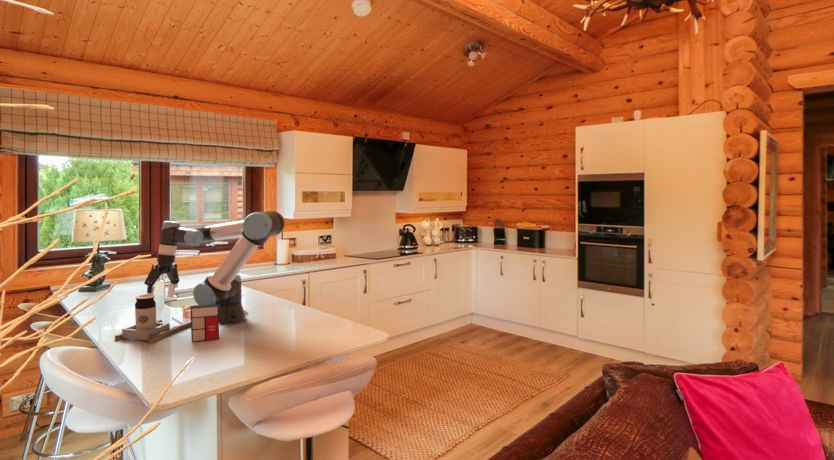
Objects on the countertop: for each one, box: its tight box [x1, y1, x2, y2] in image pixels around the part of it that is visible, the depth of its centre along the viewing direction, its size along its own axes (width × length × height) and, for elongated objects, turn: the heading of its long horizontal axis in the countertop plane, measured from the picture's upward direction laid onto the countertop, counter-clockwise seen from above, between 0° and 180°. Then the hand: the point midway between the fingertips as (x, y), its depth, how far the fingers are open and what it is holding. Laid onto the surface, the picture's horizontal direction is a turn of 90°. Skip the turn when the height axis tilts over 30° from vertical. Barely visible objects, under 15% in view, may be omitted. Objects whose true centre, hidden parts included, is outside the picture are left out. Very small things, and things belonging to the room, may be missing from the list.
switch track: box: [114, 319, 191, 344], centre depth 223 cm, size 18×26×2 cm
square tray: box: [121, 322, 171, 341], centre depth 218 cm, size 13×13×4 cm
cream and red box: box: [190, 304, 220, 343], centre depth 214 cm, size 11×4×15 cm, turn 114°
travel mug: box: [134, 293, 157, 331], centre depth 217 cm, size 8×8×18 cm
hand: (160, 298), depth 233 cm, fingers open, 13 cm apart
